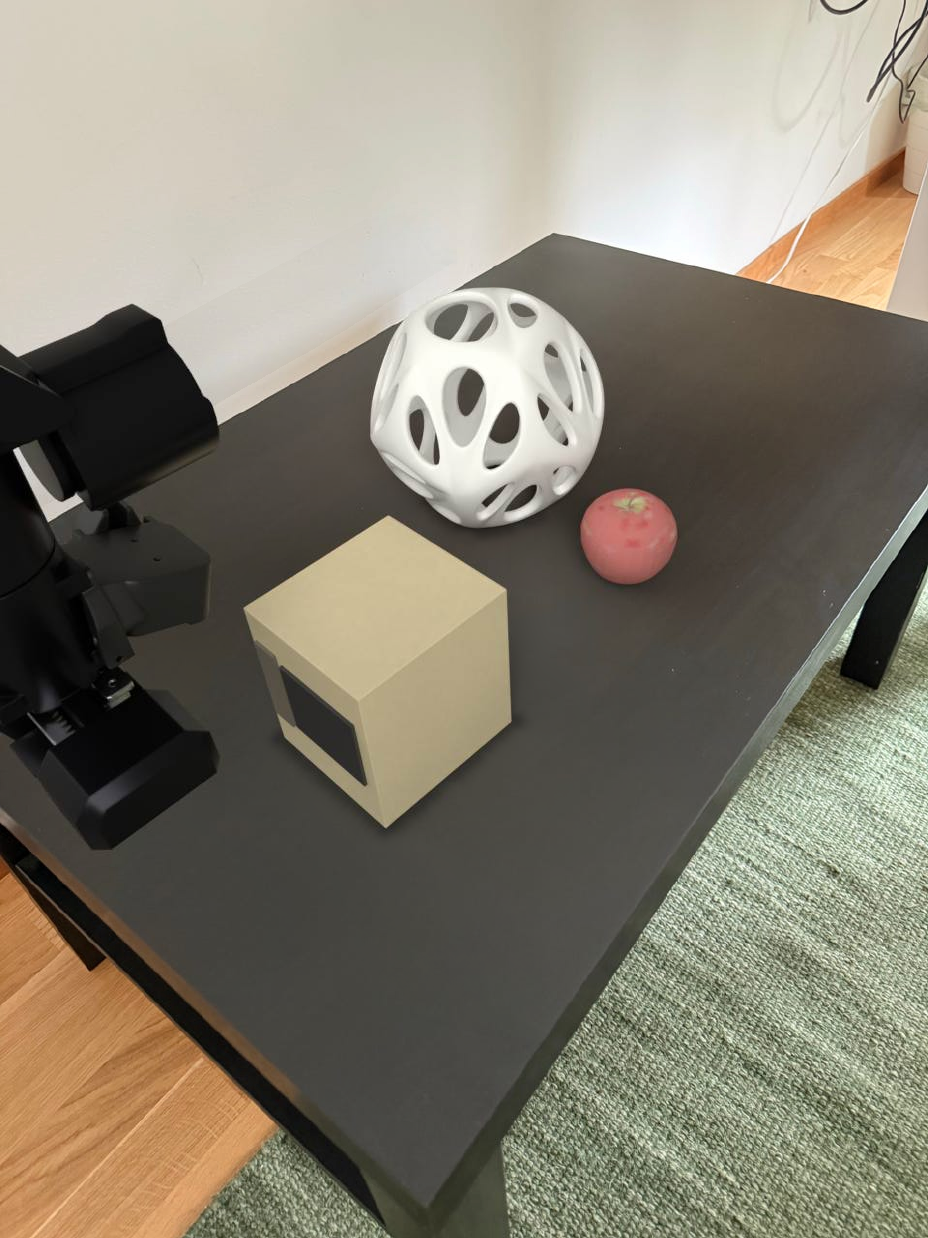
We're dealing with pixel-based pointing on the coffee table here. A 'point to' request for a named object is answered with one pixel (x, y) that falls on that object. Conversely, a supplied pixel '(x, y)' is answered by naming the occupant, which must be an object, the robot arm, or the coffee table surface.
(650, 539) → the apple
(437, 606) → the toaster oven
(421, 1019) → the coffee table surface
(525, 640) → the coffee table surface
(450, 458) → the decorative ball
